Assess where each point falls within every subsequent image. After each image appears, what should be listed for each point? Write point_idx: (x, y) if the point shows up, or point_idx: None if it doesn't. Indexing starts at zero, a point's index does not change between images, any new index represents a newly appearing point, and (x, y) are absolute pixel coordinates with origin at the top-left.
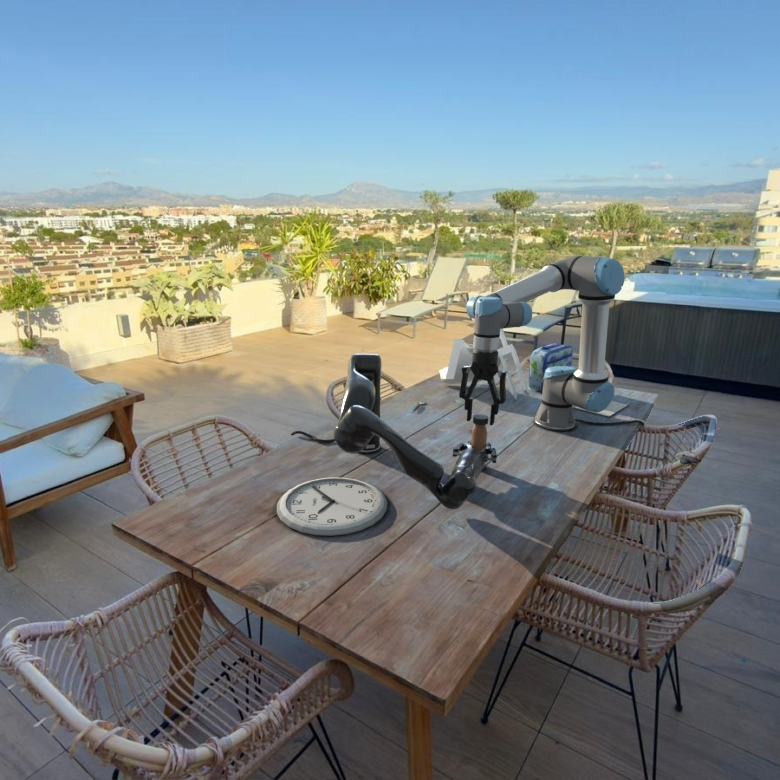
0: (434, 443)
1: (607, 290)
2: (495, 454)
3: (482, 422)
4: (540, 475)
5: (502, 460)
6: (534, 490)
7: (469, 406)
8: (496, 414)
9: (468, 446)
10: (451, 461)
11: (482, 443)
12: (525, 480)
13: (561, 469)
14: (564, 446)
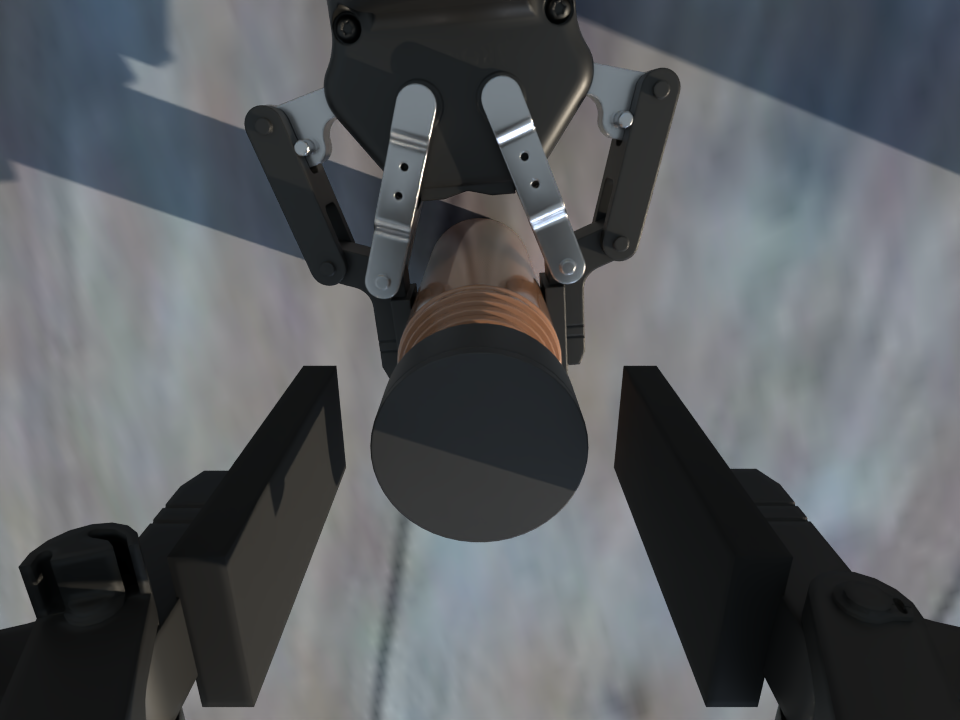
0: (823, 476)
1: None
2: (259, 130)
3: (426, 349)
4: (83, 323)
5: (360, 424)
6: (21, 82)
7: (704, 487)
8: (203, 473)
9: (542, 176)
10: (661, 268)
11: (431, 278)
12: (132, 208)
13: (17, 454)
14: None
